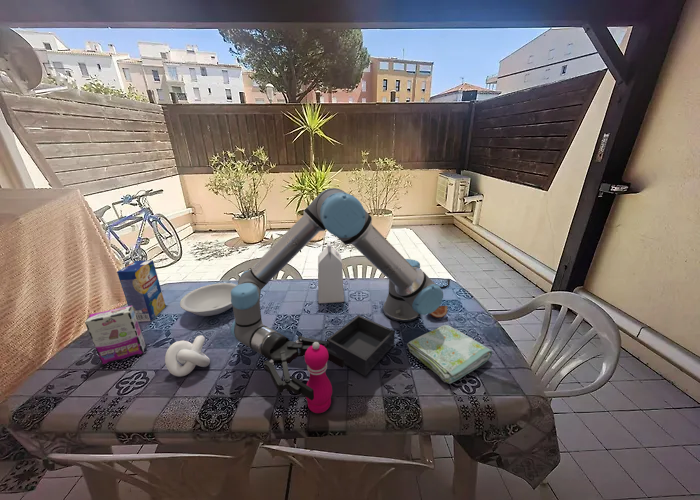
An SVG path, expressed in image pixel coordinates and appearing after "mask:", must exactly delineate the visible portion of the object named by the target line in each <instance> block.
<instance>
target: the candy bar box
mask: <svg viewBox="0 0 700 500" xmlns="http://www.w3.org/2000/svg"><path fill="white" fill-rule="evenodd" d="M84 324H85V327H86V329H87V331H88V333H89V337H90V338H91V340H92V343H93V345H94V348H95V350H96V353H97V355H98V358H99V360H100V362H101V364H102V365H106V364H110V363H113V362H117V361H120V360H124V359H128V358H131V357H135V356H139V355H143V354H144V353H145V350H146V346H147V344H146V341H145V338H144V336H143V333H142V330H141V327H140V325H139V322H138V321H137V318H136V315H135V312H134V309H133V306H128V305H127V306H123V307H118V308H114V309H113V308H112V309H109V310H105V311H99V312H94V313H90V314H89V315H88V316H87V318H86V320H85V321H84Z"/></svg>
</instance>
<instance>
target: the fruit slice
mask: <svg viewBox="0 0 700 500" xmlns="http://www.w3.org/2000/svg"><path fill="white" fill-rule="evenodd" d="M448 309H449V307H448V305H440V306H439V307H438V308H437V309H436V310H435V311H434V312H432V313H430V314H428V315H429V316H430V317H432V318H435V319H440V318H443V317H445V316H446V315H447V314H448Z"/></svg>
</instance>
